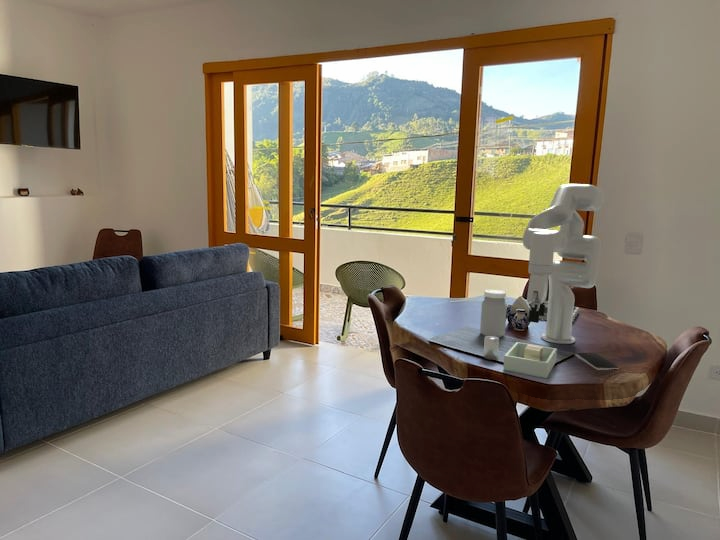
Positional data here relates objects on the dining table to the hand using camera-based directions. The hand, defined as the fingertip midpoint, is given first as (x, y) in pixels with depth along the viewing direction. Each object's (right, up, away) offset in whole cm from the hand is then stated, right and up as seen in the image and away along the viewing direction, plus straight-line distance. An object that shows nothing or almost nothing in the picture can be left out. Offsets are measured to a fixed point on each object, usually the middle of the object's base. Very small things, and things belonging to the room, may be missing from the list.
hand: (536, 318), depth 177 cm
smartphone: (+22, -16, +5) cm, 28 cm away
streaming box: (+32, -5, +71) cm, 78 cm away
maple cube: (-1, -15, +2) cm, 15 cm away
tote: (-2, -16, -1) cm, 16 cm away
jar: (-6, -10, +35) cm, 37 cm away
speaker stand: (+30, -5, +69) cm, 76 cm away
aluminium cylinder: (-14, -14, +7) cm, 21 cm away
